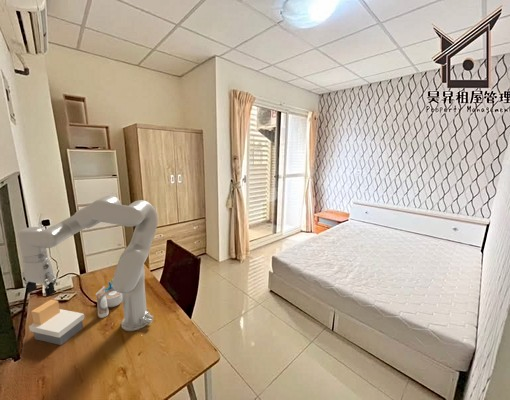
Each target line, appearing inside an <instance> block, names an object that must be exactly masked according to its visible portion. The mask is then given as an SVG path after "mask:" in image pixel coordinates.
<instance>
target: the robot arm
mask: <svg viewBox="0 0 510 400" xmlns="http://www.w3.org/2000/svg"><path fill="white" fill-rule="evenodd" d="M100 223H105V224H109V225H117V226H123V227H134V230H133V234H132V237H131V240H130V242H129V243H128V245H127V246H126V248H125V249H124V250H123V252H122V253H121V255H120V256H119V259H118V261H117V265H116V267H115V270H114V274H113V275H112V276H113V277H112V279H111V280H112V282H111V283H112V286H113V288H114V290H115V291H116V292H118V293H122V299H123V300H122V307H123V314H124V315H123V316H124V318H123V319H122V320H121V329H122V330H124V331H127V332H134V331H138V330H141V329H143V328H144V327H146V326H147V325H148V324H150V325H151V324H152V323H153V321H154V315H151V313H150V312H149V310H147V300H146V297H147V296H146V289H145V288H146V286H145V283H146V282H145V277H146V273H145V272H146V271H145V266H144V264H145V262H146V260H147V258H148V257H149V254H150V250H151V248H152V244H153V241H154V237H155V234H156V230H157V226H158V213H157V210H156V209H155V207H154V206H153V205H152V204H151V203H150V202H148V201H147V200H144V199H140V200H135V201H133V202H131V203H130V204H129V205H126V204H122V203H121V201H120V199H119V198H118V197H117V196H114V195H105V196H103V197H101V198H99V199H96V200H94V201H93V202H92V203H90V204H88V205H86V206H84V207H83V208H80V209H78V210H77V211H76V212H74V214H73V215H70V216H69V217H68V218H66V219H64V220H62V221H60V222H58V223H56V224H54V225H52V226H50V227H48V228H43V227H40V226H29V227H25V228H22V229H21V230H18V234H17V235H18V237H17V238H18V242H19V247H20V252H21V253H20V254H21V257H22V258H21V259H22V268H23V272H21V273H20V275H21V276H22V280H23V281H24V285H25V286H26V289H27V288H28V292H27V293H28V294H30V293H32V292H34V291H36V290H37V289H38V288H37V284H39V285H43V286H44V287H45V288H44V291H45V292H44V293H45V297H47V298H48V297H51V295H53V294H55V284H56V283H57V282H56V281H57V277H56V276H55V274H54V269H53V265H52V263H51V261H50V259H49V257H48V250H47V249H51V248H52V249H53V248H54V247H56V246H57V245H59V244H61V243H62V242H64V241H66V240H68V239H69V238H70V237H72V236H74V235H75V234H77V233H79V232H81V231H83V230H85V229H91V228H92V227H94V226H97V225H98V224H100ZM48 282H49V283H48Z"/></svg>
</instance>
